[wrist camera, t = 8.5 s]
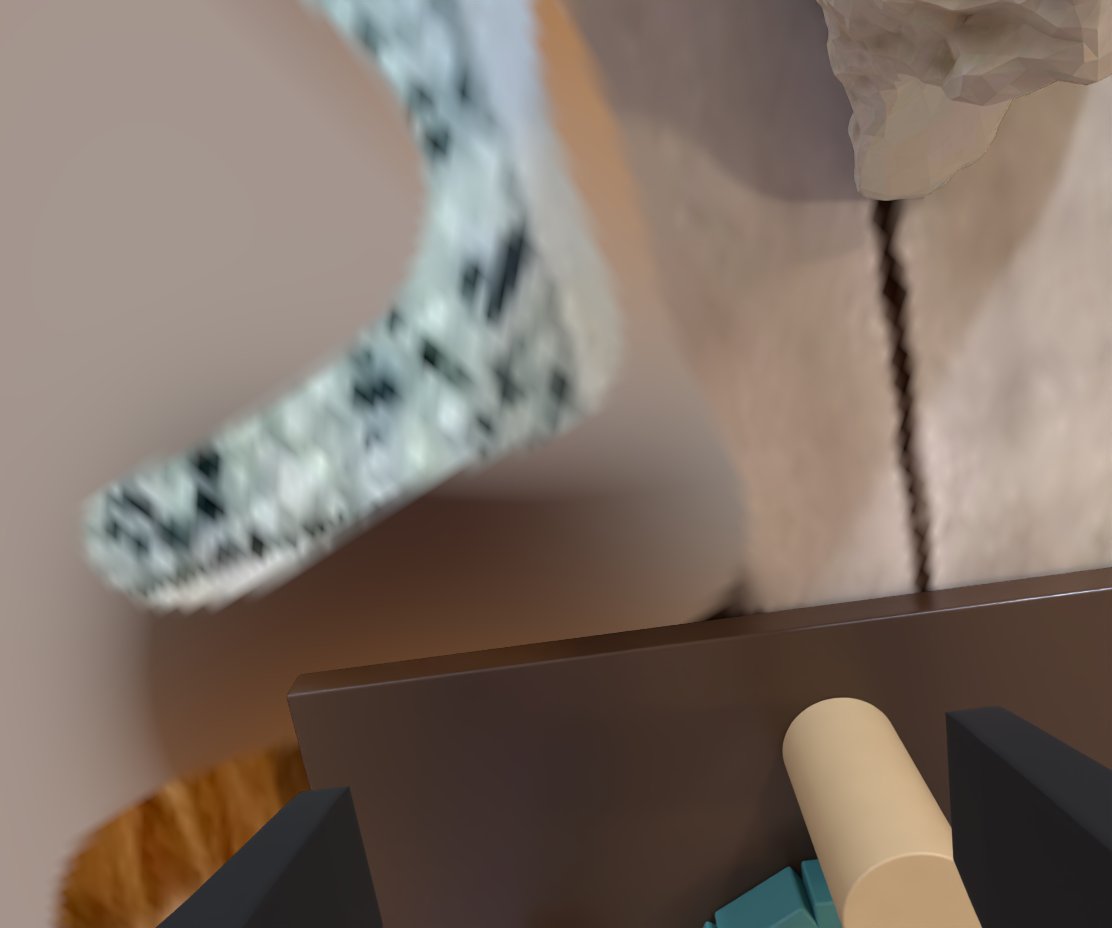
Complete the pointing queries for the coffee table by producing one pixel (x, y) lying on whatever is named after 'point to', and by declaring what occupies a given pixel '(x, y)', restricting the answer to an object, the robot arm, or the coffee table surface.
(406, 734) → the rack
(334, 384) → the coffee table surface
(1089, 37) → the decorative stone
